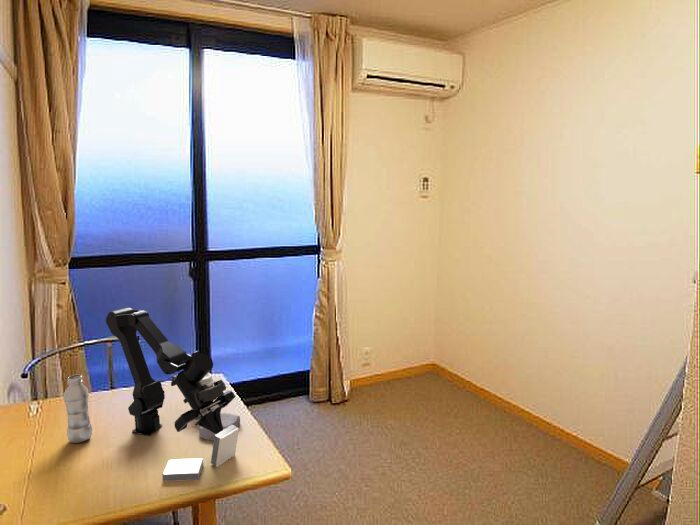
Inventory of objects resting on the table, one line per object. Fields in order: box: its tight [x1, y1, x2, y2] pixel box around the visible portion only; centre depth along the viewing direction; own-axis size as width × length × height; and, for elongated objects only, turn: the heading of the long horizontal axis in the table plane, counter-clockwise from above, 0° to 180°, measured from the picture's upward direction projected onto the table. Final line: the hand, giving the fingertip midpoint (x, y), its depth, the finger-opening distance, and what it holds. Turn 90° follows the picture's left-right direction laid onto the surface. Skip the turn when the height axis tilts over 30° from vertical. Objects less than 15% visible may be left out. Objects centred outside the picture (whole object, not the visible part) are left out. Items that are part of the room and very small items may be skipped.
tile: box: [210, 425, 240, 468], centre depth 140 cm, size 2×7×9 cm, turn 151°
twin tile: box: [161, 457, 204, 482], centre depth 134 cm, size 9×7×2 cm
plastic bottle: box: [62, 374, 93, 444], centre depth 148 cm, size 6×7×20 cm
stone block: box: [198, 412, 241, 440], centre depth 157 cm, size 12×5×10 cm
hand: (222, 435), depth 139 cm, fingers closed
